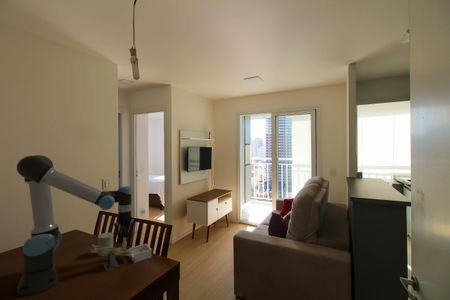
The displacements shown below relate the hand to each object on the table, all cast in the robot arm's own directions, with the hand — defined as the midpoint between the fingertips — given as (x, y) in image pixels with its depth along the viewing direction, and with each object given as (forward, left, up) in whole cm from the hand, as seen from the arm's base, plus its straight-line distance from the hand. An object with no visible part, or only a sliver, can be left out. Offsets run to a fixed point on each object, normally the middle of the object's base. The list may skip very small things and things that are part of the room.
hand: (124, 247), depth 136 cm
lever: (-10, -4, +1) cm, 10 cm away
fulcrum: (-9, -7, -6) cm, 13 cm away
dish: (+8, -7, -6) cm, 12 cm away
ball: (+8, -7, -4) cm, 12 cm away
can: (-8, +13, -6) cm, 16 cm away
